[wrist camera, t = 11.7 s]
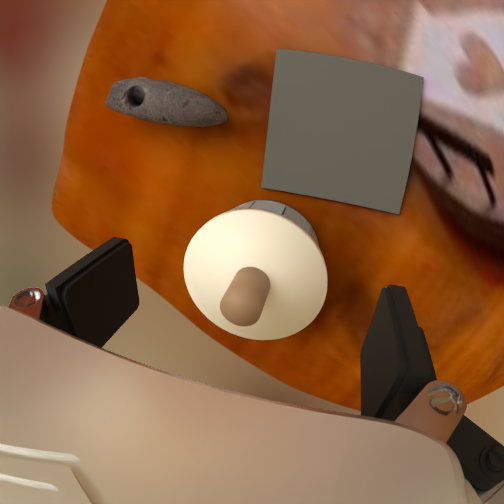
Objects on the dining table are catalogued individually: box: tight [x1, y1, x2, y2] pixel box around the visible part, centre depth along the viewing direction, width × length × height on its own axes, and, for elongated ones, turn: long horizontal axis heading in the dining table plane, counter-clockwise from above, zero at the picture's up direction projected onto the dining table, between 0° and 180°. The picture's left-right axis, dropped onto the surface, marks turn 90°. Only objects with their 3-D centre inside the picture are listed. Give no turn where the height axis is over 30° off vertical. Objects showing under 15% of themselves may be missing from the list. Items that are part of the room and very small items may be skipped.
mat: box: [261, 49, 423, 214], centre depth 31 cm, size 17×17×1 cm
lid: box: [184, 208, 328, 340], centre depth 31 cm, size 16×16×6 cm
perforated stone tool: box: [105, 77, 228, 127], centre depth 31 cm, size 15×5×7 cm, turn 70°
